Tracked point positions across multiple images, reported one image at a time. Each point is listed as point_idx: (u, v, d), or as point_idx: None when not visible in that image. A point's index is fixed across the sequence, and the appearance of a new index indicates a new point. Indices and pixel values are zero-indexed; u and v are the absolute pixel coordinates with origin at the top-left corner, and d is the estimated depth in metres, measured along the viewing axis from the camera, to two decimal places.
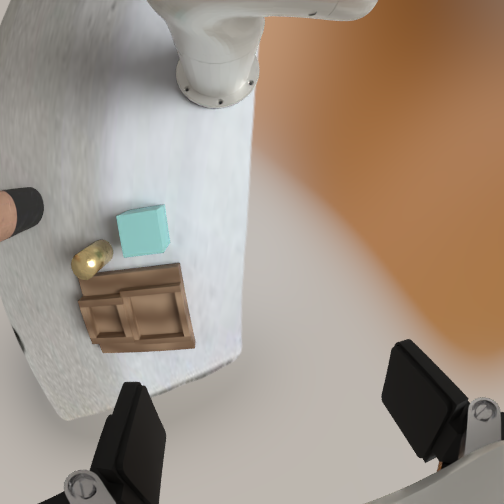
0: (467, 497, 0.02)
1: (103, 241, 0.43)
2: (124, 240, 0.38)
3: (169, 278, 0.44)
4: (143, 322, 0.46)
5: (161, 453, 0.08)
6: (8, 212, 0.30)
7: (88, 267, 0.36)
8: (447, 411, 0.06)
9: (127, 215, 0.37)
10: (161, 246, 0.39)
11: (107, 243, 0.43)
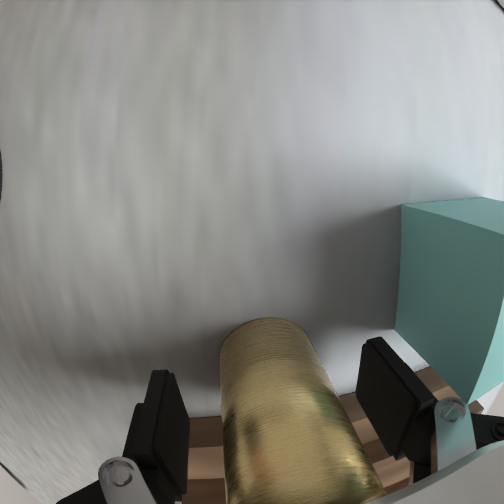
0: (467, 497, 0.02)
1: (289, 328, 0.11)
2: (499, 344, 0.06)
3: (458, 396, 0.12)
4: None
5: (187, 440, 0.09)
6: None
7: None
8: (412, 409, 0.06)
9: None
10: None
11: (304, 336, 0.11)
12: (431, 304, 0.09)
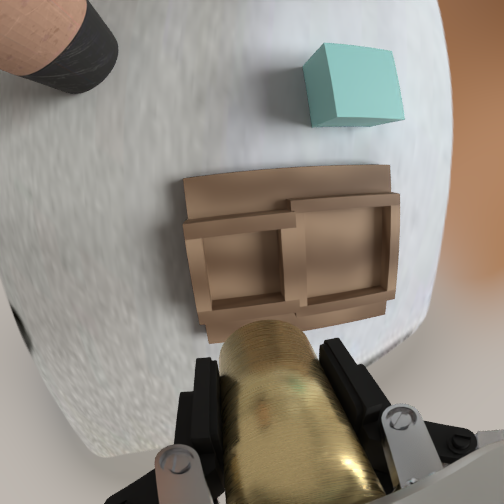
0: (467, 497, 0.02)
1: (288, 330, 0.11)
2: (340, 85, 0.17)
3: (375, 183, 0.24)
4: (314, 271, 0.25)
5: None
6: None
7: None
8: (358, 413, 0.07)
9: (345, 46, 0.17)
10: (401, 108, 0.18)
11: (304, 338, 0.11)
12: (316, 94, 0.21)
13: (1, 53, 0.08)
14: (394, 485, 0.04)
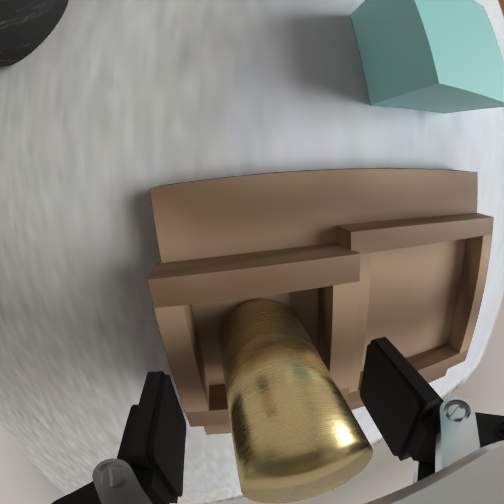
0: (467, 497, 0.02)
1: (281, 308, 0.13)
2: (435, 33, 0.07)
3: (460, 200, 0.13)
4: (370, 337, 0.15)
5: (183, 442, 0.09)
6: None
7: (338, 472, 0.07)
8: (417, 409, 0.06)
9: None
10: None
11: (294, 315, 0.13)
12: (383, 50, 0.10)
13: None
14: (436, 472, 0.04)
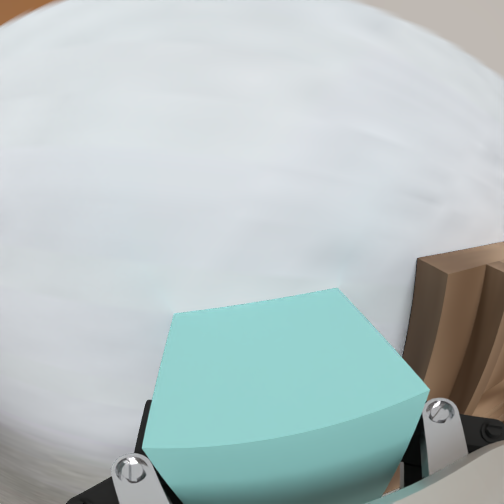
0: (467, 497, 0.02)
1: None
2: None
3: (468, 306, 0.09)
4: None
5: None
6: None
7: None
8: None
9: None
10: (394, 407, 0.05)
11: None
12: None
13: None
14: (423, 475, 0.04)
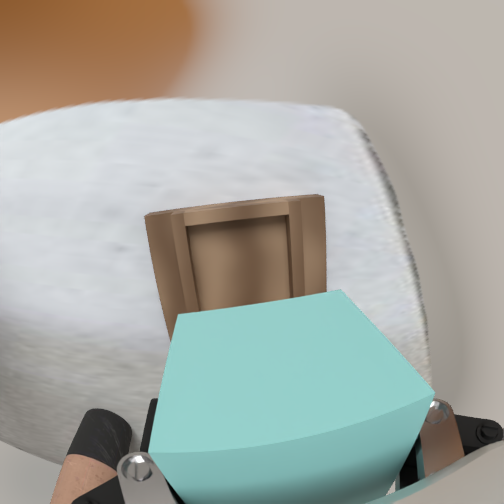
0: (467, 497, 0.02)
1: None
2: None
3: (167, 233, 0.23)
4: (261, 292, 0.26)
5: None
6: (74, 467, 0.20)
7: None
8: None
9: None
10: (400, 410, 0.05)
11: None
12: None
13: None
14: (419, 476, 0.04)
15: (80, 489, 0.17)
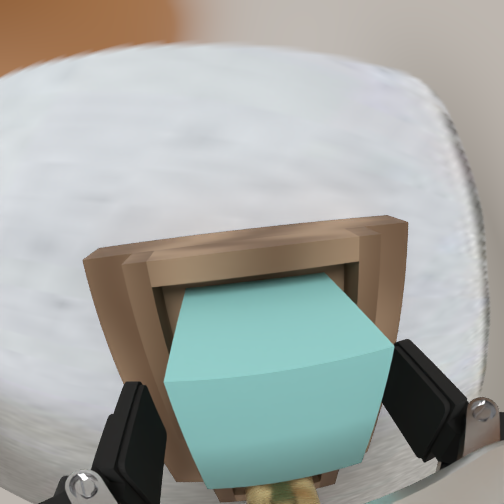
0: (467, 497, 0.02)
1: None
2: (302, 471, 0.08)
3: (124, 292, 0.12)
4: None
5: (162, 452, 0.08)
6: None
7: None
8: (446, 411, 0.06)
9: (203, 468, 0.08)
10: (364, 357, 0.07)
11: None
12: None
13: None
14: None
15: None
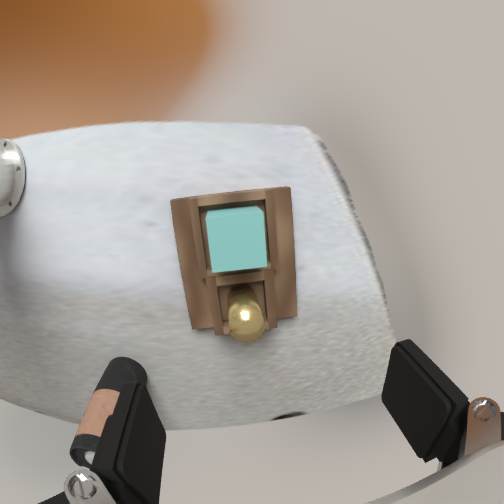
0: (467, 497, 0.02)
1: (228, 295, 0.38)
2: (244, 263, 0.32)
3: (185, 212, 0.35)
4: None
5: (161, 453, 0.08)
6: (101, 398, 0.32)
7: (248, 320, 0.31)
8: (447, 411, 0.06)
9: (211, 257, 0.31)
10: (254, 214, 0.30)
11: (231, 290, 0.38)
12: None
13: None
14: None
15: (105, 413, 0.29)
